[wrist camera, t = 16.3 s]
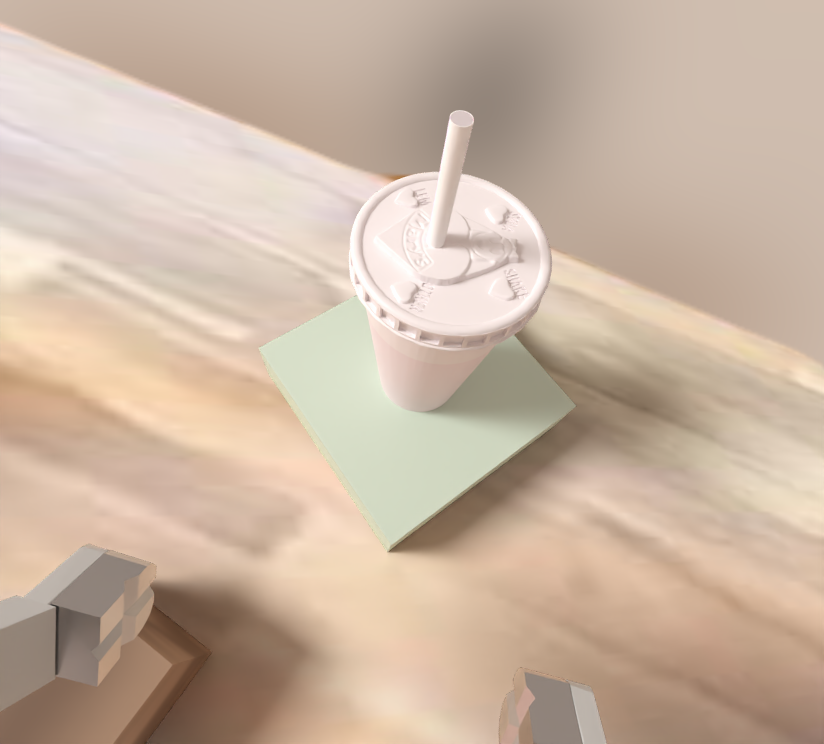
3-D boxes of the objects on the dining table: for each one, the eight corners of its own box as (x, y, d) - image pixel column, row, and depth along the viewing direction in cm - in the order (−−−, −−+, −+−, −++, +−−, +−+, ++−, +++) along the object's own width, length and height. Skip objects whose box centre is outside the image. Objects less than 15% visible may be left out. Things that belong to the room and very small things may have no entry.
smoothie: (356, 314, 25) (354, 19, 12) (481, 322, 26) (601, 48, 13) (346, 436, 22) (331, 218, 10) (486, 443, 23) (646, 244, 10)
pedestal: (554, 425, 27) (576, 405, 24) (387, 552, 23) (391, 545, 21) (432, 282, 30) (439, 250, 27) (268, 374, 26) (258, 347, 24)
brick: (212, 652, 21) (172, 664, 16) (120, 778, 19) (46, 831, 14) (124, 581, 22) (63, 575, 17) (27, 695, 20) (-71, 722, 15)
